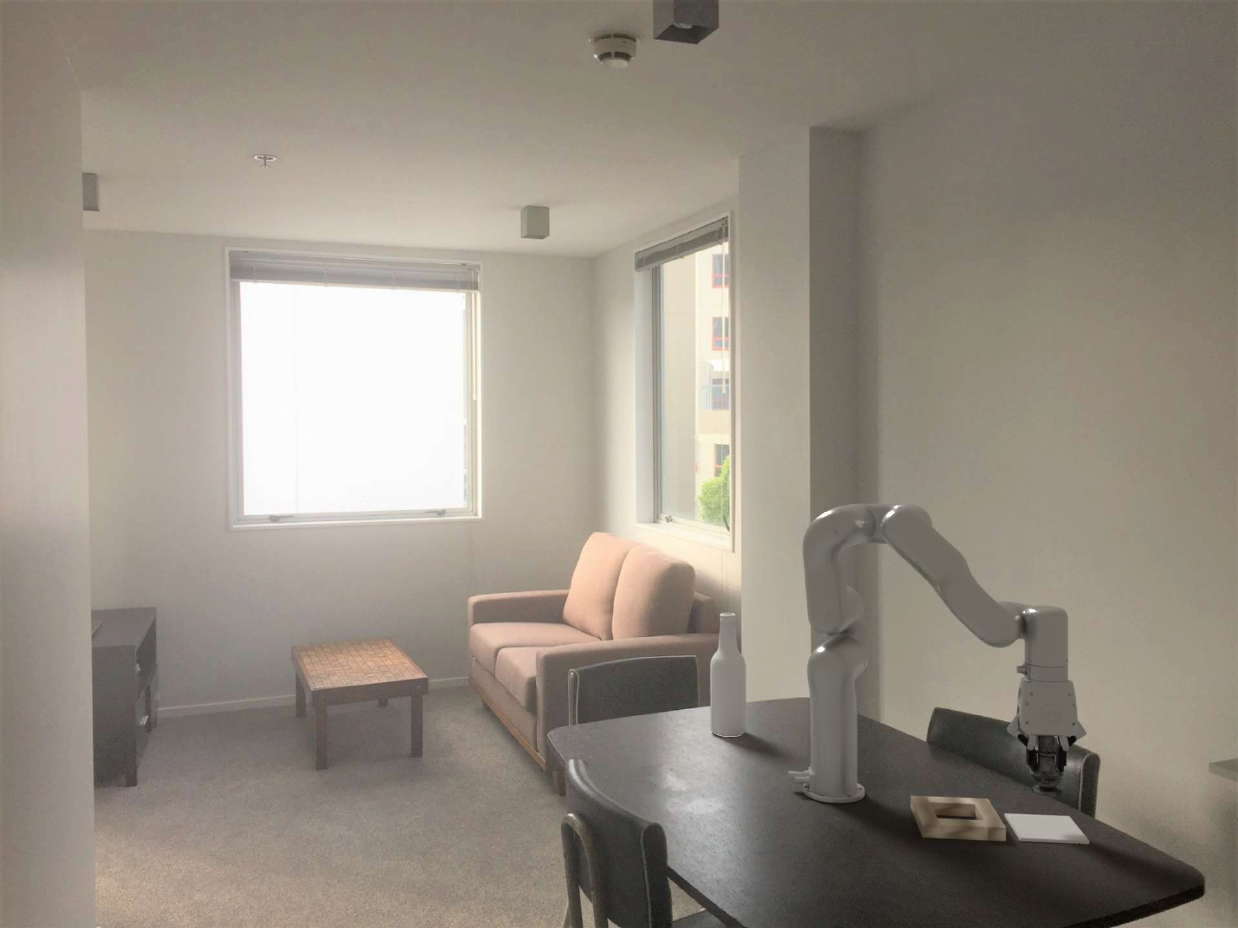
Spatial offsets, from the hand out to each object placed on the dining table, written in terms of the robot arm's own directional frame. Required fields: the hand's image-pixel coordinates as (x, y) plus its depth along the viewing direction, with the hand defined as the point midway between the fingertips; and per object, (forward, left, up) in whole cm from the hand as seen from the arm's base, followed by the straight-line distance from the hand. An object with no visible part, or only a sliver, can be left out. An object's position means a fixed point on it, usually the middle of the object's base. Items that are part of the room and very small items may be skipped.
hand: (1046, 768), depth 190 cm
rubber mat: (0, 0, -12) cm, 12 cm away
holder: (-16, +1, -12) cm, 20 cm away
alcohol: (-61, +55, -12) cm, 83 cm away
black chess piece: (0, 0, -5) cm, 5 cm away
